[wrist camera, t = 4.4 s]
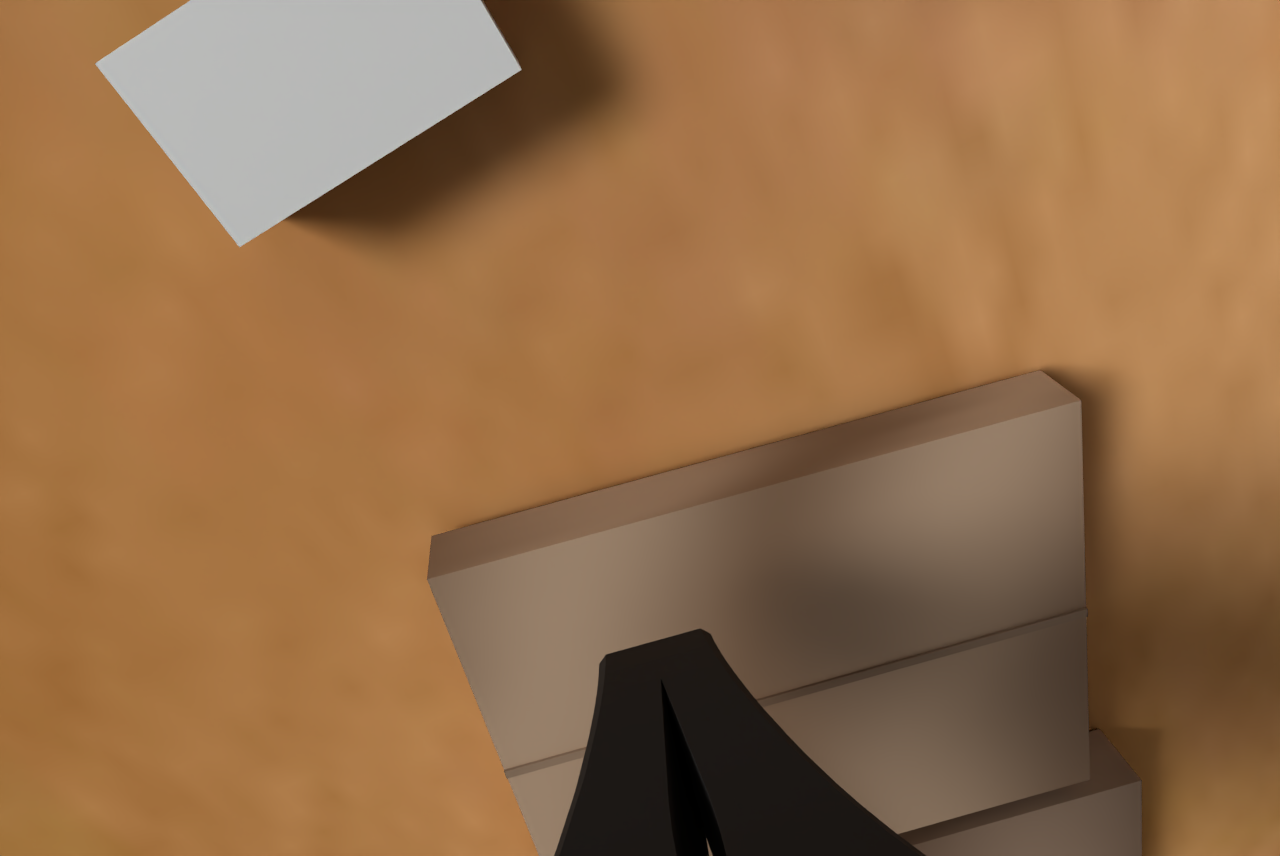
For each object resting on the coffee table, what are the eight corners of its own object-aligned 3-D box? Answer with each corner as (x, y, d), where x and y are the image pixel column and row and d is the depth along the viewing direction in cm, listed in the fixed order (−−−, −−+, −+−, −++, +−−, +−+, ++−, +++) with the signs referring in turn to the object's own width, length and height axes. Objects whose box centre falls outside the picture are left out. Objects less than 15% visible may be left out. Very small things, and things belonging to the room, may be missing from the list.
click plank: (1040, 370, 15) (1083, 401, 14) (1056, 733, 19) (1091, 781, 18) (431, 536, 15) (426, 581, 14) (563, 872, 19) (568, 929, 18)
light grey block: (412, -120, 12) (399, -138, 10) (517, 58, 13) (521, 69, 11) (151, 52, 12) (94, 63, 11) (273, 212, 14) (240, 247, 12)
